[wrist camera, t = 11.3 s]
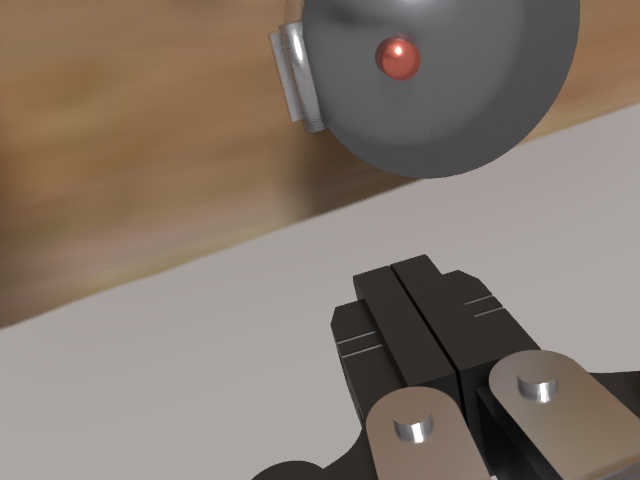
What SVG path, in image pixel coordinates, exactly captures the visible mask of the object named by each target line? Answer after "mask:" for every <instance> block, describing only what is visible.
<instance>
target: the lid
mask: <svg viewBox="0 0 640 480" xmlns="http://www.w3.org/2000/svg"><path fill="white" fill-rule="evenodd" d="M579 22H580V1H579V0H304V2H303V7H302V12H301V17H300V20H295V21H290V22H287V23H284V24H281V25H279V30H280V34H281V38H282V42H283V46H284V50H285V54H286V58H287V62H288V66H289V69H290V73H291V77H292V81H293V85H294V89H295V93H296V97H297V101H298V105H299V109H300V113H301V117H302V121H303V125H304V129H305V132H306V133H315V132H319V131H322V130H324V129H326V128H328V129H329V130H330V131H331V133H332V134H333V135H334V136H335V137H336V138H337V140H338V141H339V142H340V143H341V144H342V145H343V146H344V147H346V148H347V149H348V150H349V151H350V152H351V153H352V154H354V155H355V156H357V157H358V158H360V159H361V160H363V161H364V162H366V163H368V164H370V165H372V166H374V167H376V168H378V169H380V170H382V171H386V172H389V173H392V174H395V175H399V176H405V177H411V178H427V179H430V178H442V177H449V176H453V175H458V174H462V173H465V172H468V171H471V170H474V169H477V168H479V167H481V166H483V165H485V164H487V163H489V162H492V161H494V160H495V159H497V158H498V157H500V156H501V155H503V154H505V153H506V152H508V151H509V150H510V149H512V148H513V147H514V146H515V145H517V144H518V143H519V142H520V141H522V140H523V139H524V138H525V137H526V136H527V135H528V134H529V133H530V132H531V131H532V130H533V129H534V128H535V127H536V125H537V124H538V123H539V122H540V120H541V119H542V118H543V117H544V115H545V114H546V113H547V112H548V110H549V108H550V107H551V105H552V104H553V102H554V101H555V99H556V98H557V96H558V94H559V92H560V90H561V88H562V86H563V84H564V82H565V80H566V77H567V74H568V72H569V69H570V66H571V64H572V60H573V56H574V53H575V49H576V45H577V38H578V31H579Z"/></svg>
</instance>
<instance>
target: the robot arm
mask: <svg viewBox="0 0 640 480" xmlns="http://www.w3.org/2000/svg"><path fill="white" fill-rule="evenodd" d="M353 282H354V287H355V291H356V295H357V299H358V301H355V302H351V303H348V304H345V305H341V306H338V307H336V308H335V311H334V314H333V318H332V321H331V329H332V332H333V336H334V340H335V343H336V346H337V350H338V354H339V358H340V361H341V365H342V369H343V372H344V376H345V379H346V383H347V386H348V389H349V392H350V395H351V398H352V401H353V403H354V406H355V409H356V412H357V415H358V418H359V420H360V423H361V427H362V430H361V433H360V435H359V437H358V439H357V441H356V442H355V444H354V445H353V446H352V448H351V449H350V450H349V451H348V452H347V453H345V454H344V455H343V456H342V457H340V458H339V459H338V460H336V461H335V462H333V463H332V464H330V465H329V466H327V467H326V468H324V469H322V468H321V467H319V466H317V465H316V464H313V463H310V462H306V461H288V462H282V463H279V464H276V465H273V466H271V467H269V468H267V469H265V470H263V471H262V472H260V473H259V474H258V475H256V476H255V477H254V478H253V479H252V480H492V479H491V476H494V475H495V476H496V477H497V479H498V480H640V371H631V372H618V373H617V372H616V373H589V372H587V371H586V370H584V369H583V368H582V367H581V366H580V365H579V364H578V363H577V362H575V361H574V360H573V359H571V358H569V357H567V356H565V355H562V354H559V353H556V352H552V351H546V350H541V349H540V347H539V346H538V345H537V344H536V343H535V342H534V341H533V339H532V338H531V337H530V336H529V335H528V334H527V333H526V331H524V329H523V328H522V327H521V326H520V325H519V324H518V322H517V321H516V320H515V319H514V318H513V317H512V316H511V315H510V313H509V312H508V311H507V310H506V309H503V306H502V304H501V303H500V302H499V301H498V300H497V299H496V298H495V297H493V296H492V293H491V292H490V291H489V290H488V289H487V288H486V286H485V285H484V284H483V283H482V282H481V281H480V280H479V279H478V278H475V277H473V276H470V275H469V274H466V273H464V272H462V271H459V270H456V271H453V272H450V273H447V274H443V275H442V274H441V273H440V272H439V270H438V269H437V268H436V266H435V265H434V264H433V263H432V261H431V260H430V259H429V258H428V256H427V255H425V254H424V255H421V256H417V257H414V258H411V259H407V260H404V261H401V262H397V263H394V264H391V265H390V267H389V266H384V267H381V268H378V269H374V270H371V271H368V272H365V273H361V274H358V275H355V276H353Z"/></svg>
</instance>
